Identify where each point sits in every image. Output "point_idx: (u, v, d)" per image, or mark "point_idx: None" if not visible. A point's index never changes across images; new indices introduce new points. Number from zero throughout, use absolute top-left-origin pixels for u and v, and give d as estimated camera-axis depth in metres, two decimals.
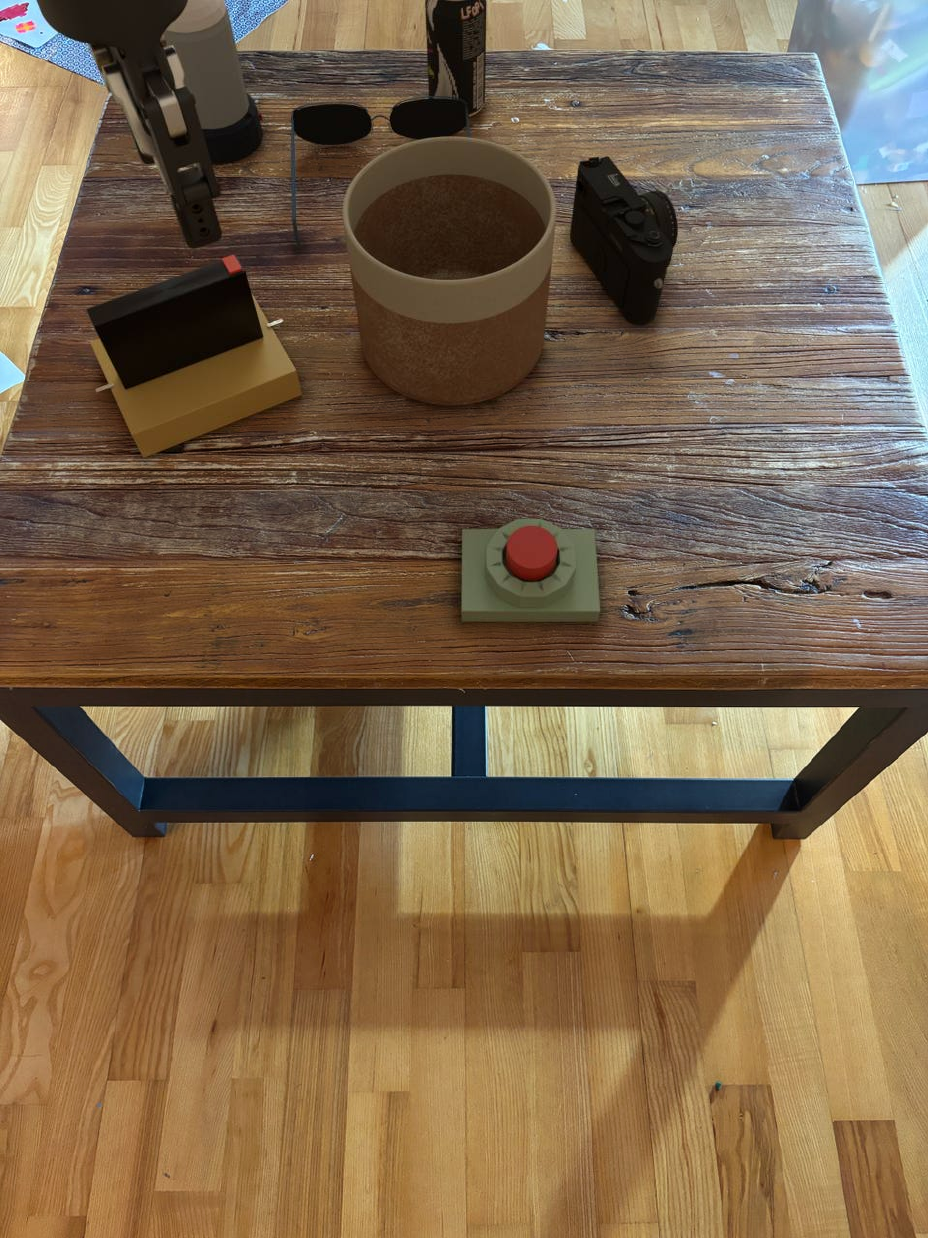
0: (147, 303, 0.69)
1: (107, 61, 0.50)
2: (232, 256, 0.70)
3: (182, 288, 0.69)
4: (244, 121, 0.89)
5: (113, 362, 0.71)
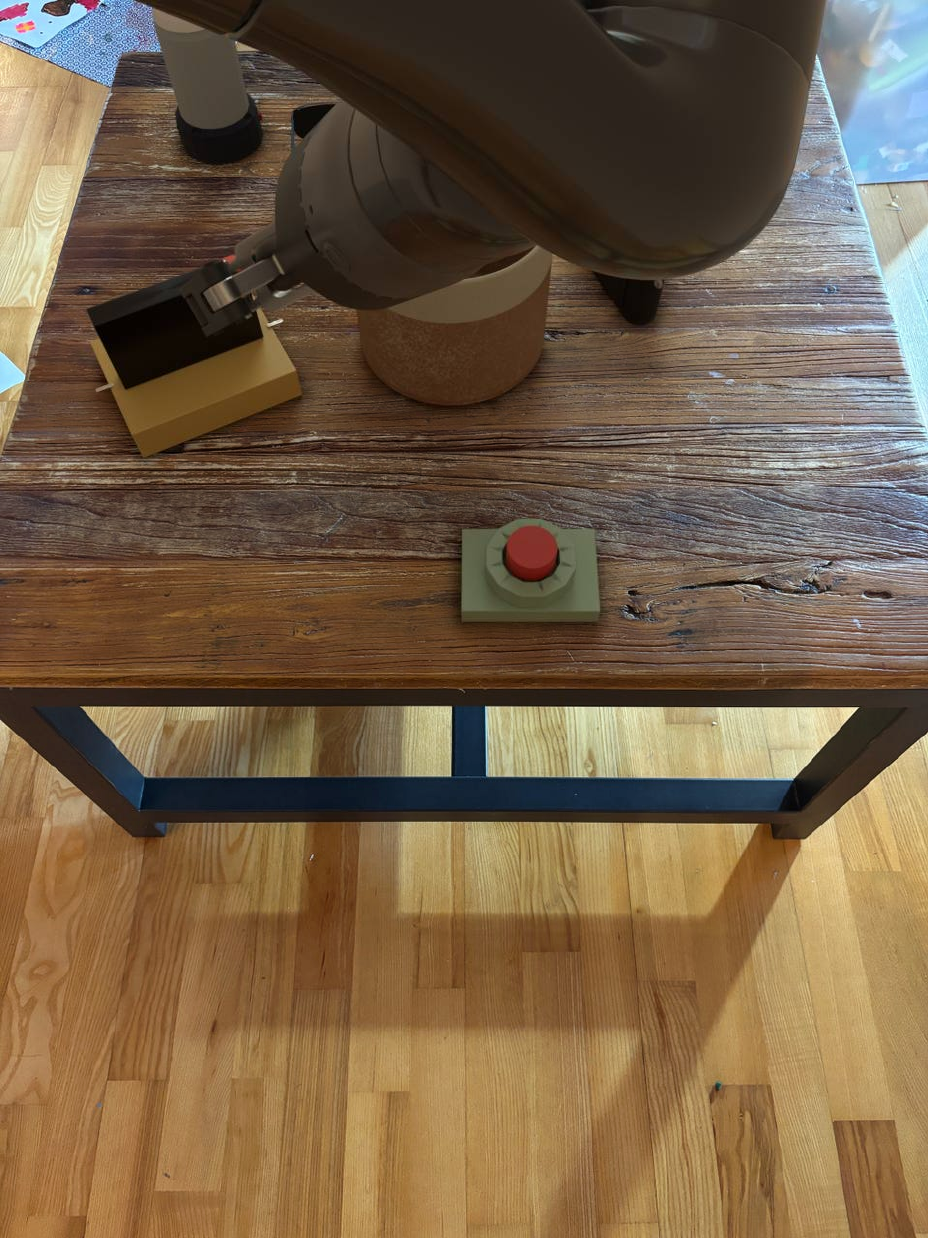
0: (147, 303, 0.69)
1: None
2: (232, 256, 0.70)
3: None
4: (244, 121, 0.89)
5: (113, 362, 0.71)
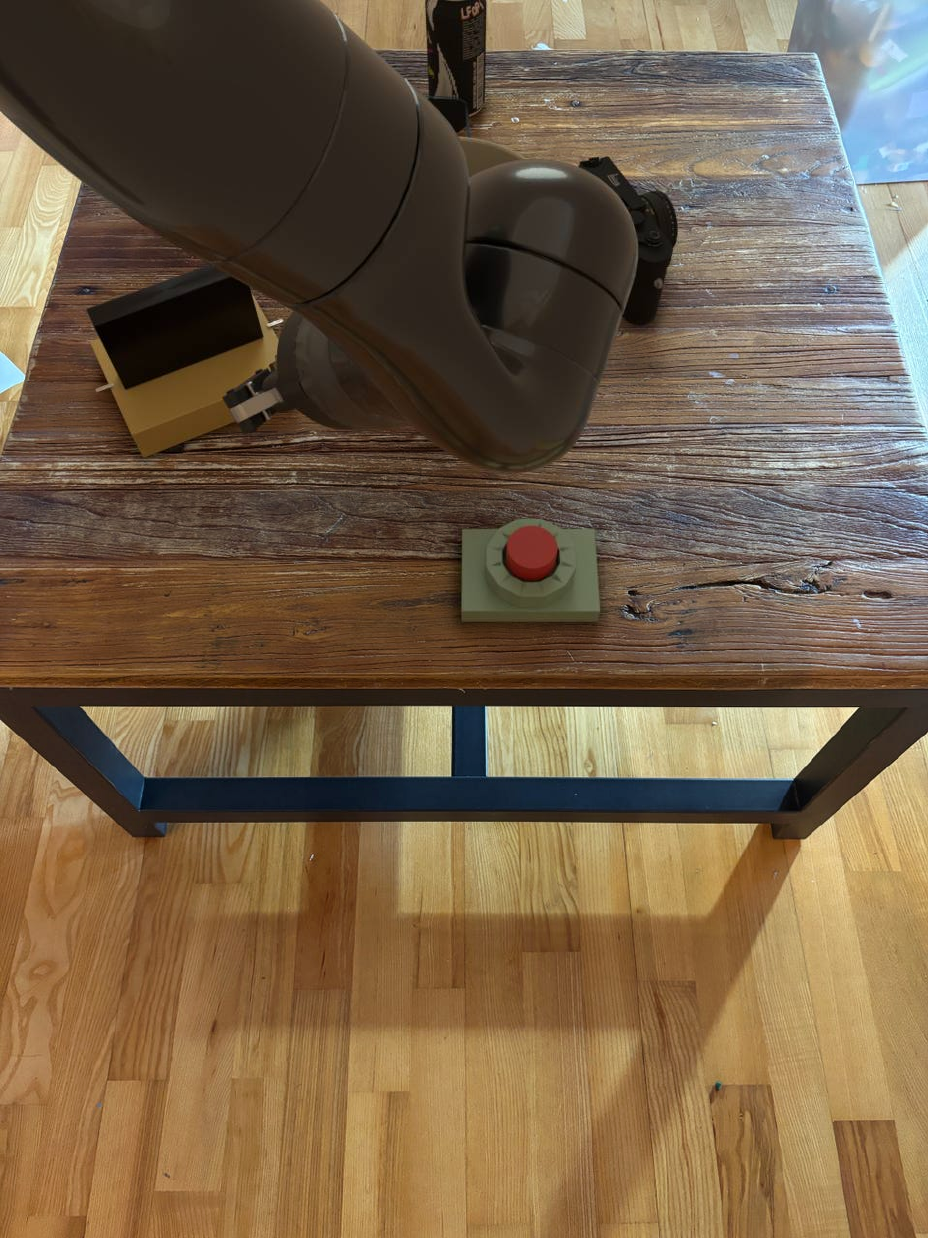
0: (147, 303, 0.69)
1: None
2: None
3: (182, 288, 0.69)
4: None
5: (113, 362, 0.71)
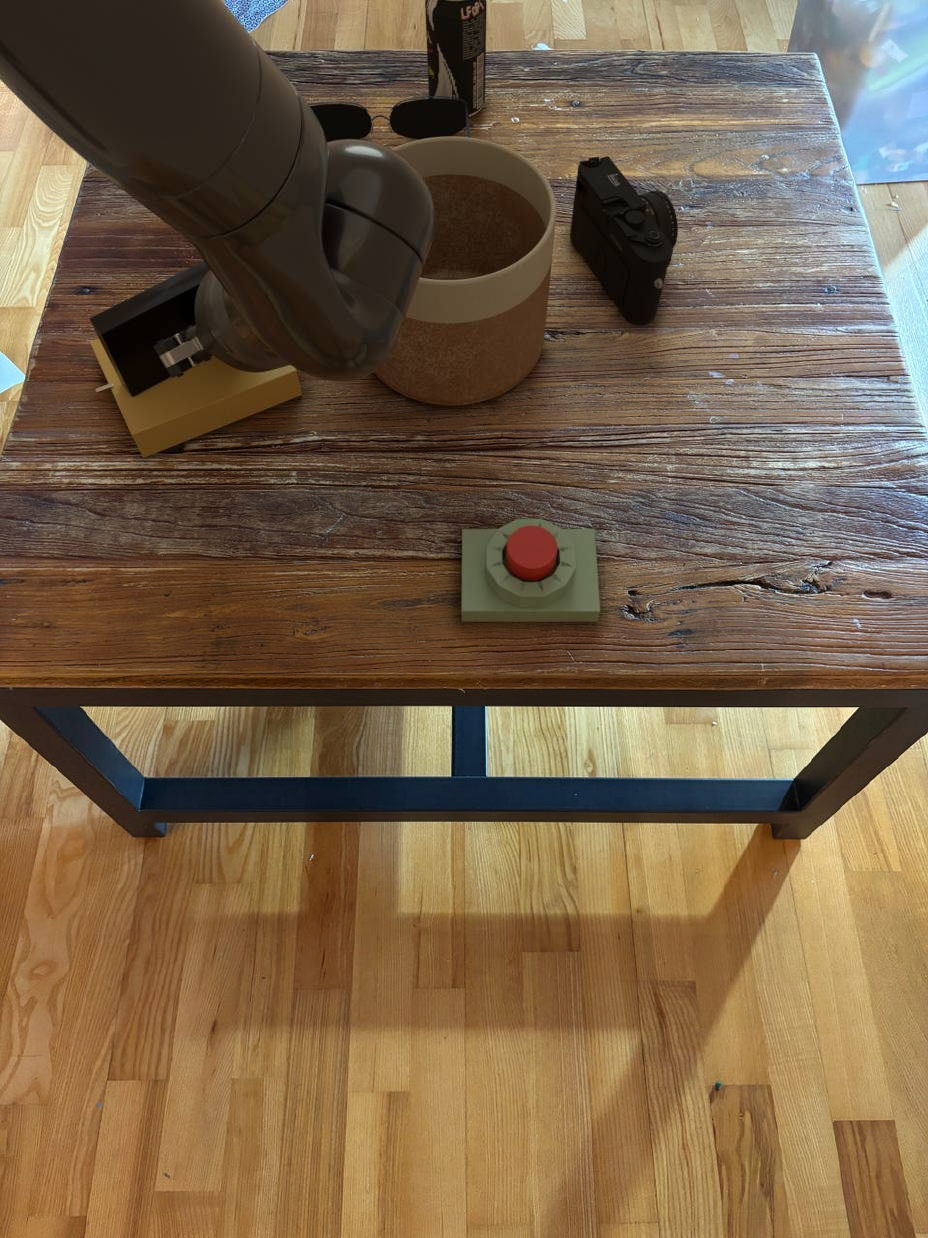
0: (150, 305, 0.69)
1: None
2: None
3: (182, 286, 0.69)
4: None
5: (120, 369, 0.71)
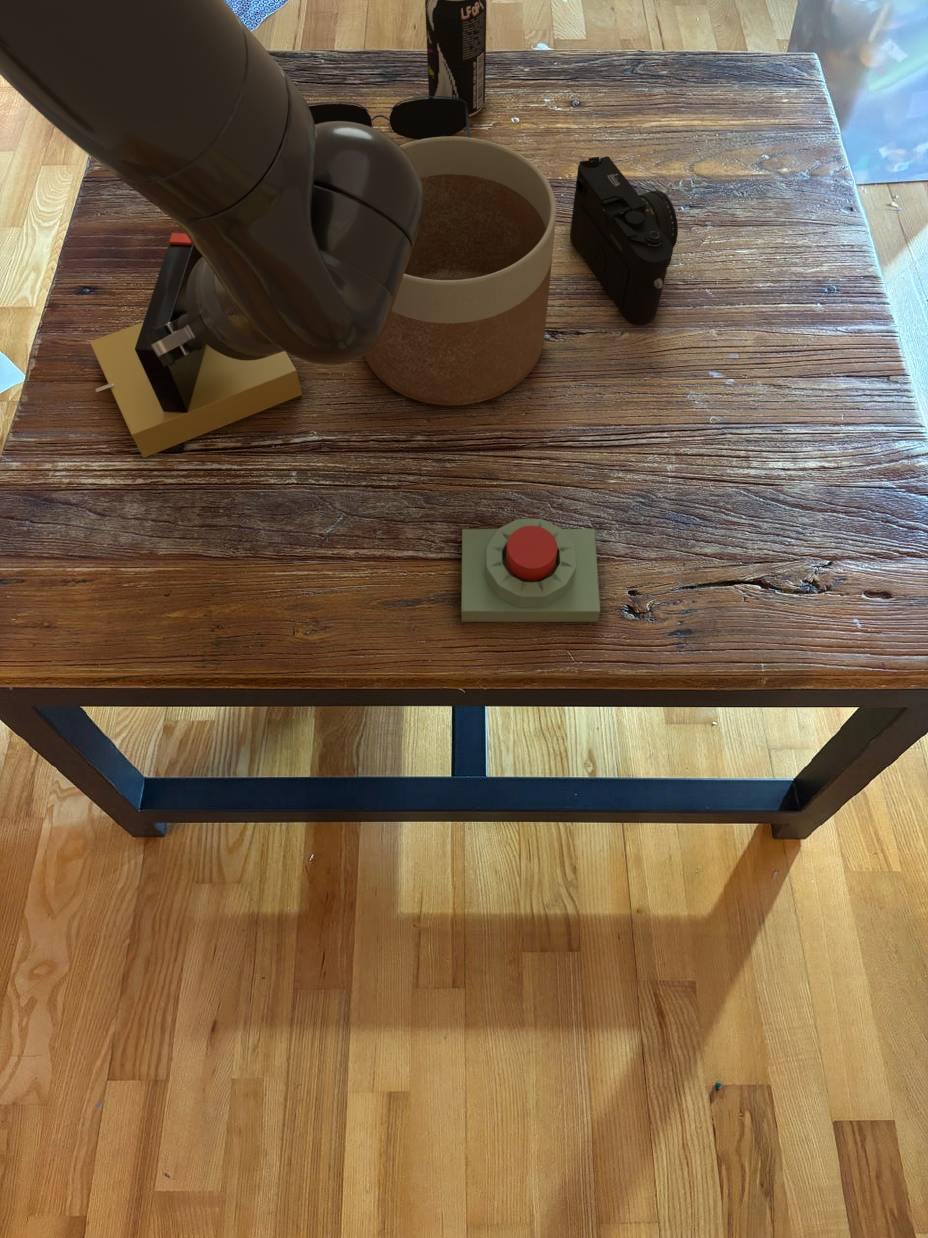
0: (170, 307, 0.68)
1: None
2: (174, 234, 0.72)
3: (175, 279, 0.70)
4: None
5: (176, 385, 0.70)
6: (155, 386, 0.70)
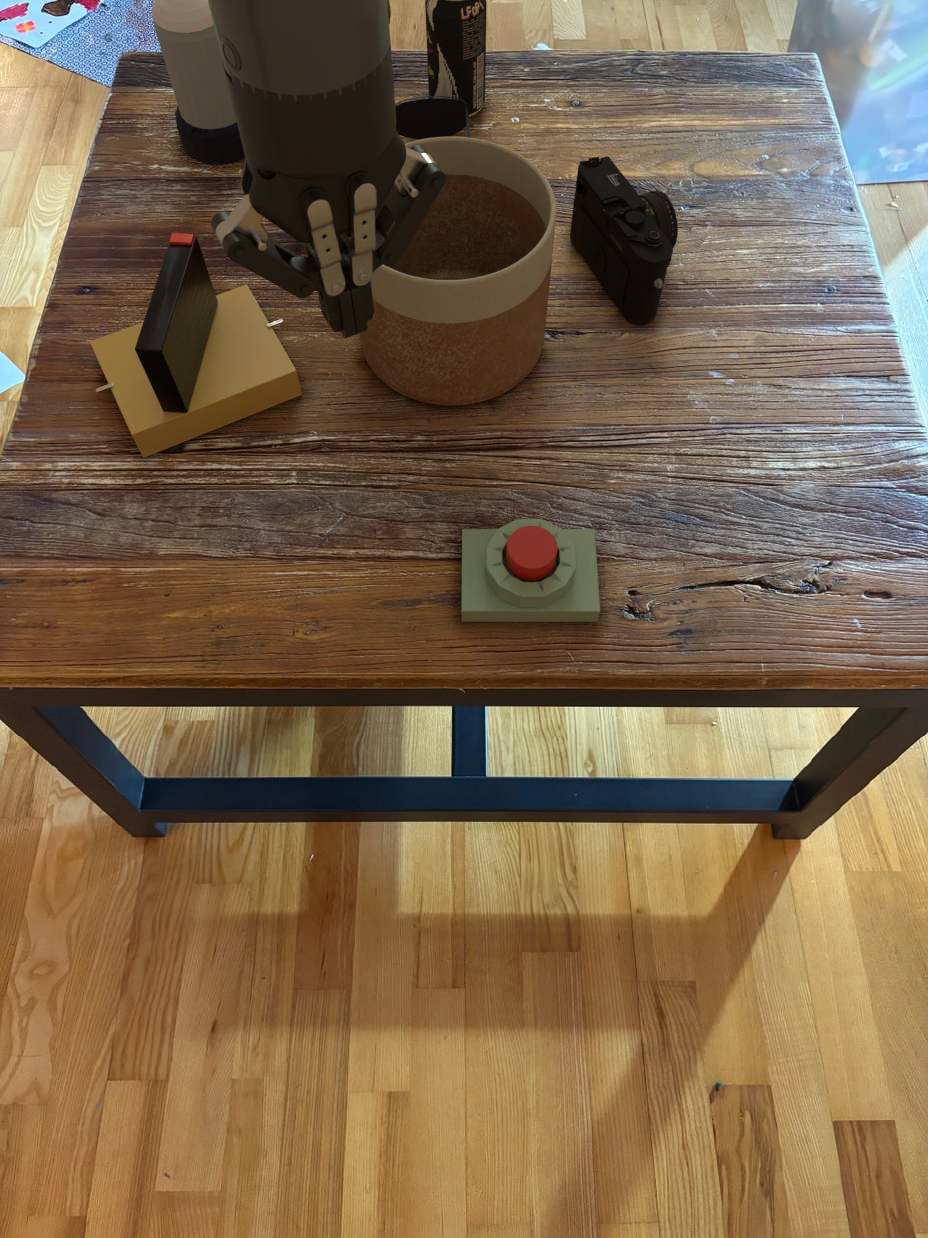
0: (170, 307, 0.68)
1: None
2: (174, 234, 0.72)
3: (175, 279, 0.70)
4: None
5: (176, 385, 0.70)
6: (155, 386, 0.70)
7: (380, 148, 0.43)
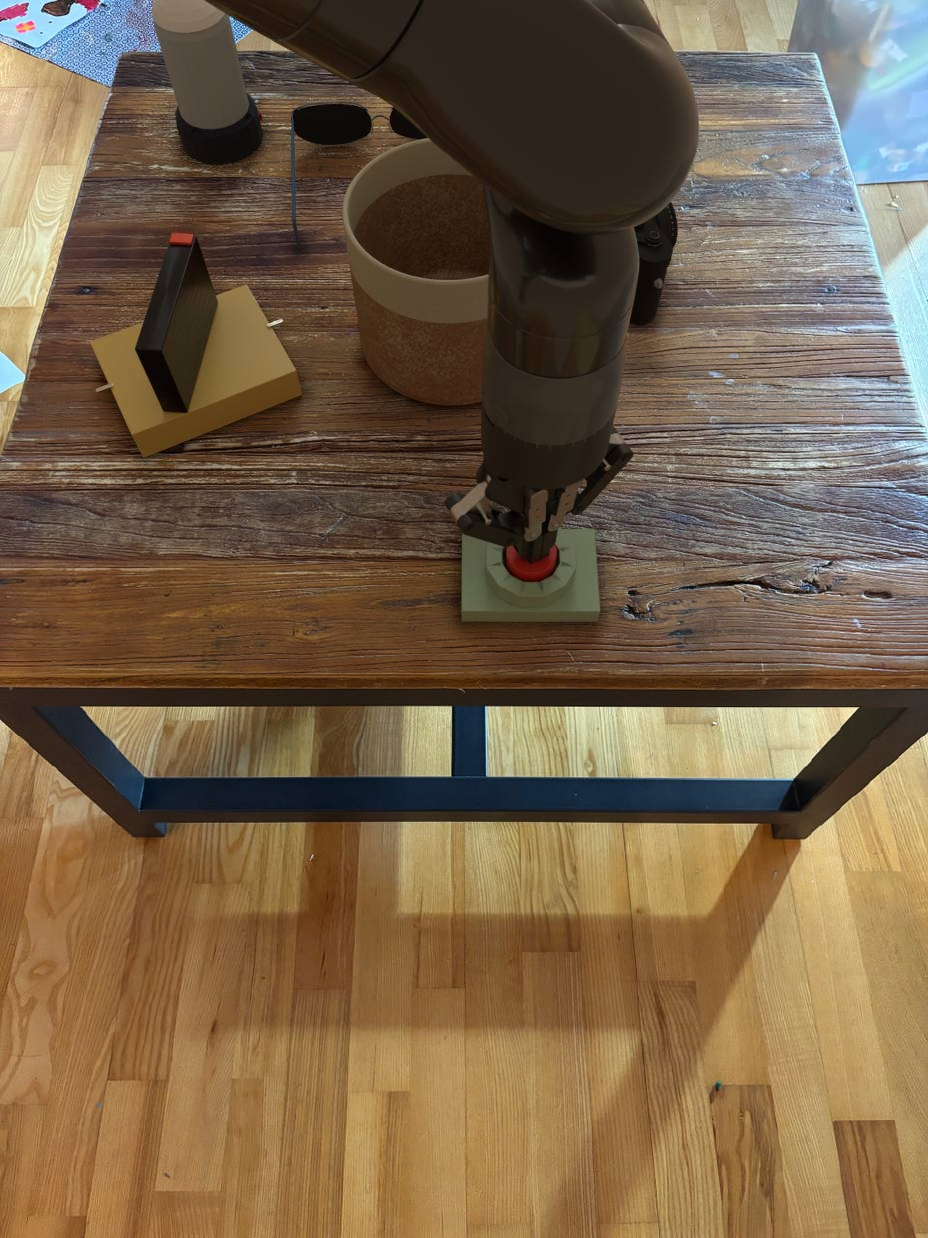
0: (170, 307, 0.68)
1: None
2: (174, 234, 0.72)
3: (175, 279, 0.70)
4: (244, 121, 0.89)
5: (176, 385, 0.70)
6: (155, 386, 0.70)
7: (600, 461, 0.53)
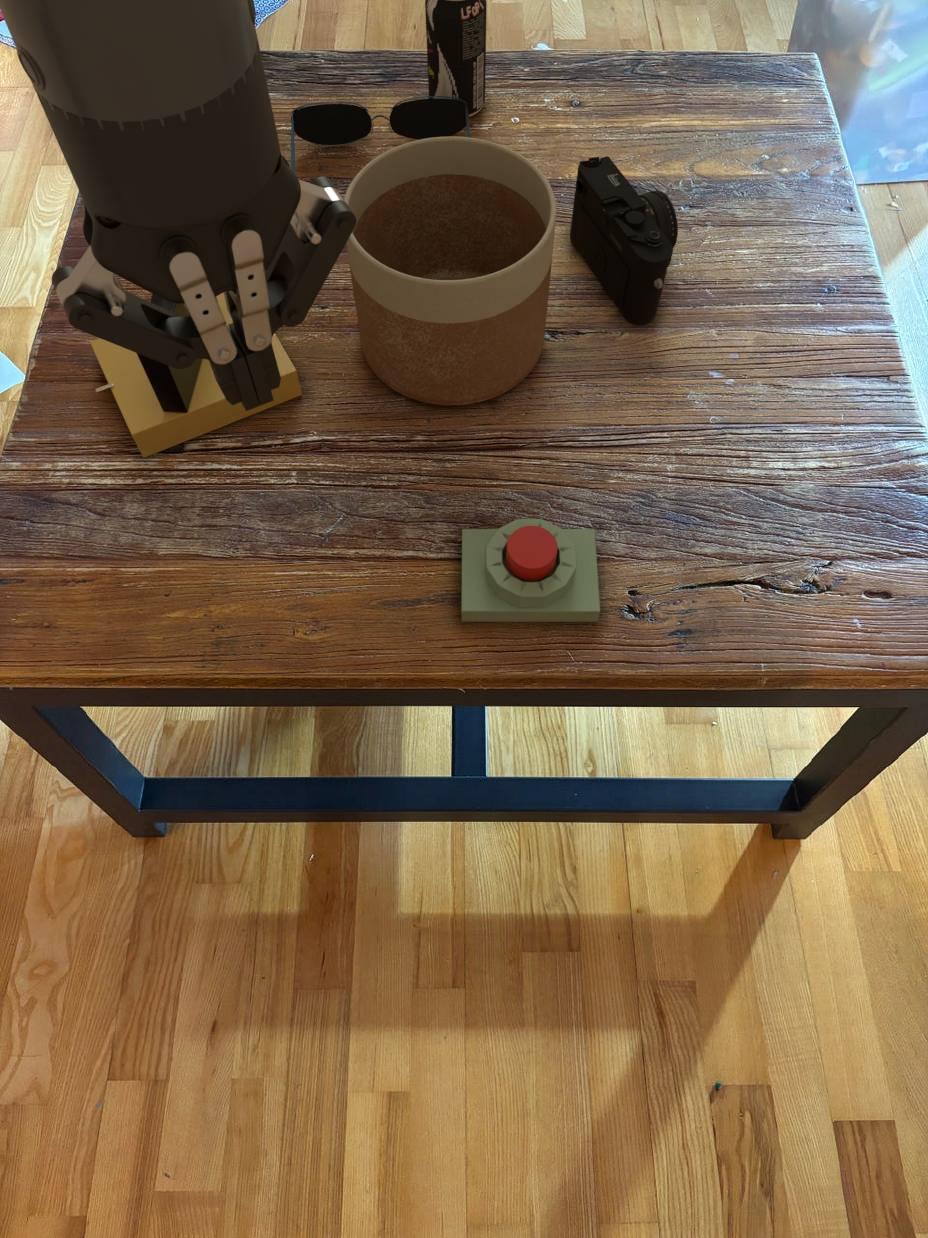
0: (170, 307, 0.68)
1: None
2: None
3: None
4: None
5: (176, 385, 0.70)
6: (155, 386, 0.70)
7: (254, 188, 0.33)
